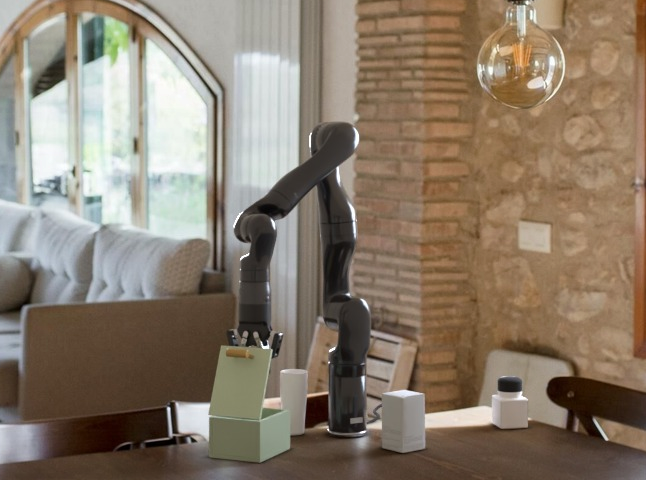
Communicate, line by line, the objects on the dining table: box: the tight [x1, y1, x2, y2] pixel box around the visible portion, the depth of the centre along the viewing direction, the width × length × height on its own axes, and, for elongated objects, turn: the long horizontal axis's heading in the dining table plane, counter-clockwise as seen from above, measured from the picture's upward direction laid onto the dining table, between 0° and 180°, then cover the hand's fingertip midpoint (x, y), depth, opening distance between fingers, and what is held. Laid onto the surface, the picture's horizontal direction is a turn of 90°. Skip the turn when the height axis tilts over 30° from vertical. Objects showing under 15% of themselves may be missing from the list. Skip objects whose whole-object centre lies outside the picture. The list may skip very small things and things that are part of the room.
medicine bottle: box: [491, 375, 529, 430], centre depth 319 cm, size 7×7×12 cm
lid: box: [208, 345, 273, 420], centre depth 284 cm, size 16×13×5 cm
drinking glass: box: [279, 368, 309, 437], centre depth 310 cm, size 7×7×15 cm
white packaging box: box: [381, 389, 426, 454], centre depth 294 cm, size 7×7×13 cm
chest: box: [208, 406, 291, 464], centre depth 289 cm, size 15×13×9 cm
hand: (254, 375), depth 292 cm, fingers closed on block, 4 cm apart
